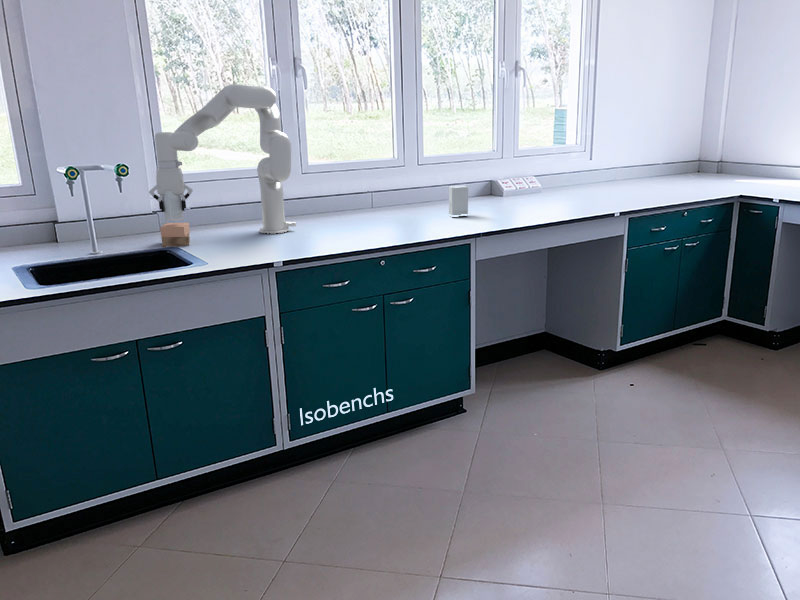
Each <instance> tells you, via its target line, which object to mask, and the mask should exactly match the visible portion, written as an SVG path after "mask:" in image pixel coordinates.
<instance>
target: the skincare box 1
mask: <svg viewBox="0 0 800 600" xmlns="http://www.w3.org/2000/svg"><path fill="white" fill-rule="evenodd" d="M162 201H163V208H164V212H163V215H164V221H166V222H169V223H173V222H176V221H182V220H184V219H185V218H184V211H182V202H181V201H182V198H181V197H180V195H174V194H173V193H172V191H165V195H163V197H162Z"/></svg>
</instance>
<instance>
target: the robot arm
mask: <svg viewBox="0 0 800 600" xmlns="http://www.w3.org/2000/svg"><path fill="white" fill-rule="evenodd" d="M276 102H277V93H276V92H275V91H274V89H272V88H271V87H269V86H258V85H257V86H256V85H244V84H228V85H225V86H224V87H223V88H222V89H221V90H220V91H218V92H217V93H216V94H215V95H214V97H212V98H211V99H210V100H209V101H208V102H207V103H206V104H204V105H203V107H202V108H201V109H199V110H197V111H196V112H195V113H194V114H192V116H191V115H190V117H188V118H187V119H186V120H185V121H184V122H183V123H182V124H181V125H179V126H178V127H177V129H175V131H174V132H171V131H165V132H164V131H162V132H157V133H155V135H154V143H155V151H156V159H157V168H156V172H155V177H156V179H155V181H156V183H155V186H153V187H152V188H151V189H150V190H149V191H148V194H149V195H151V197H153V198H154V199H155V200H156V201H157V202H158V207H159V210H161V213H164V208H163V200H162V197H163V195H165V191H172V193H173V194H174V195H180V197H181V200H182V201H181V202H182V211H183V212H185V209H187V205H186V204H187V202H186V200H187V199H188V198H190V196H191V194H192V192H193V188H191V186H189V185H187V184H185V181H184V174H183V171H182V168H181V167H180V166H183V161H180V160H178V159H179V158H178V151H182V152H191V151H194V150H196V149H197V147H198V145H199V138H198V136H200V135H201V134H202V133H204V132H206V131H208V130H211V129H213V128H215V127H217V126H218V125H220V124H221V123H222V122H223V121H224V120H225V119H226V118H227V117H228V116H230V114H231V113H232V112H233V111H235V109H237V108H242V109H243V108H244V109H254V110H255V112H256V113H257V115H258V117H259V118H258V119H259V146H260V149H261V150H262V152H264V153H266V154H269V156H267V157H264V158H262V159H260V161H259V162H258V164H257V168H256V169H257V177H258V181H259V189H260V203H261V217H262V218H261V220H262V227H260V228H259V233H260V234H265V233H267V234H268V235H271V234H272V235H275V234H276V233H278V234H283V233H284V232H285V233H286V232H287V231H288V232H289V231H290V229H289V227H296V226H297V223H296V221H286V218H285V201H284V200H285V199H284V187H283V182H286V181H287V180H288V178H289V177H290V176H291V170H292V143H291V140H290V138H289V136H288V135H287V134H286V133H284V132H282V131H281V130H282V128H281V126H282V125H281V114H280V111H279V109H278V107H277V105H276ZM186 190H187V193H185V191H186ZM156 191H157V194H158V195H157V194H156V193H155V192H156ZM184 193H185V194H184ZM269 233H270V234H269ZM267 234H266V235H267Z"/></svg>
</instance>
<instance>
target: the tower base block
mask: <svg viewBox="0 0 800 600" xmlns="http://www.w3.org/2000/svg"><path fill="white" fill-rule="evenodd" d="M190 238H191V237H190V233H189V234H187V235H186V236H185V237H162V238H161V245H162V248H167V247H166V246H176V247H189V246H190V244H189V243H191V239H190Z"/></svg>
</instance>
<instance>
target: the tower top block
mask: <svg viewBox="0 0 800 600" xmlns="http://www.w3.org/2000/svg"><path fill="white" fill-rule="evenodd" d="M159 230H160V237H161V239H162V237H185V236H186V235H187V234H189V235H190V233H191V229H190V223H189V222H166V223H165V224H163V225H161V227H160V229H159Z"/></svg>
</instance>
